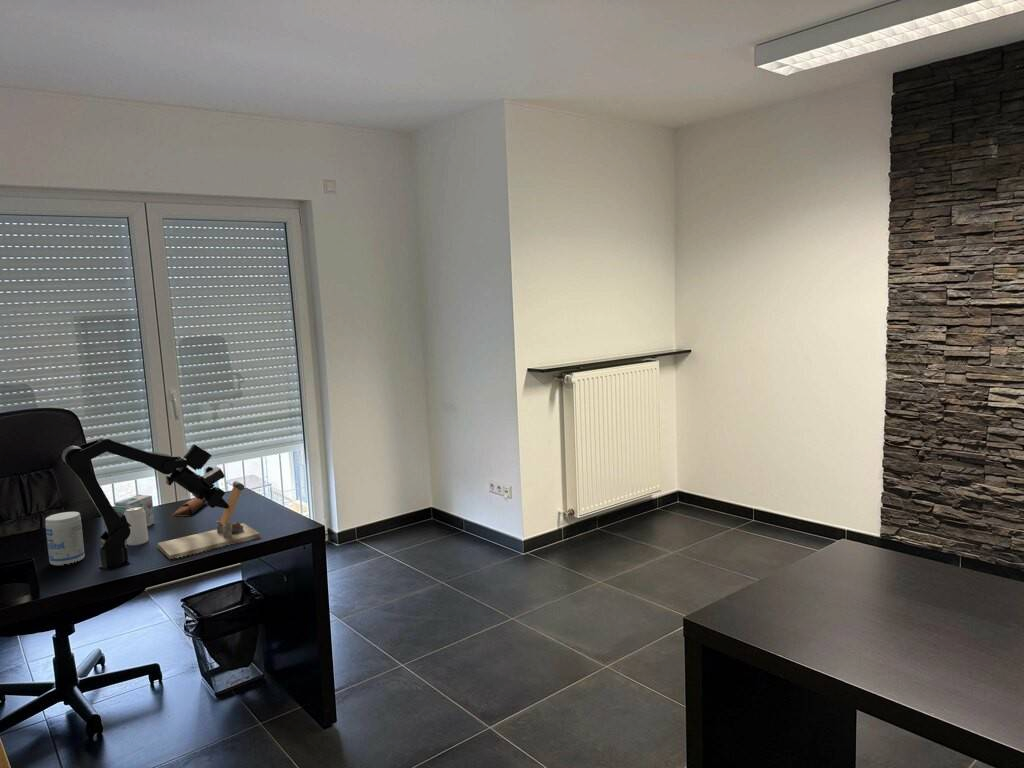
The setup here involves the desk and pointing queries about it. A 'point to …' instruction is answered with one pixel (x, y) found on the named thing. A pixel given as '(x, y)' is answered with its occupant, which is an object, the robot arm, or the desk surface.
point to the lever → (231, 503)
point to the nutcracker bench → (208, 540)
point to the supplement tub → (64, 538)
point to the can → (136, 525)
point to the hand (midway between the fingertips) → (228, 507)
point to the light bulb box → (138, 501)
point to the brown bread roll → (190, 507)
